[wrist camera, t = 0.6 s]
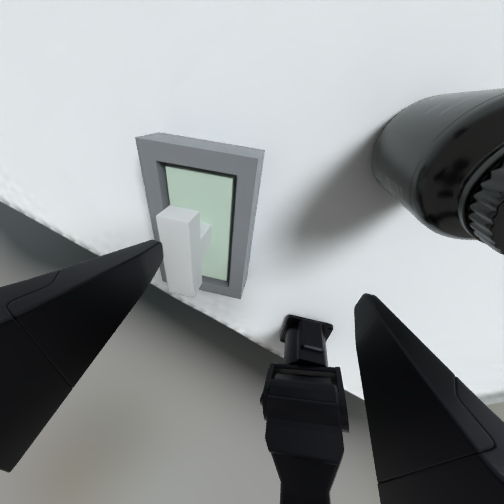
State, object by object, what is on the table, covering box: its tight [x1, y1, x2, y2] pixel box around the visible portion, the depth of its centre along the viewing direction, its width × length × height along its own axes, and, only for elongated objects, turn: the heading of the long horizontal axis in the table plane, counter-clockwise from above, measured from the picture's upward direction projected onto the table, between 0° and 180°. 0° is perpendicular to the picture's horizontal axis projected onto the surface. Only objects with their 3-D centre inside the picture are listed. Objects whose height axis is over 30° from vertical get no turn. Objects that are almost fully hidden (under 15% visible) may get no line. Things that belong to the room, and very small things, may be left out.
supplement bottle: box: [372, 88, 504, 255], centre depth 12 cm, size 7×7×12 cm
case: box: [135, 133, 265, 299], centre depth 22 cm, size 16×10×4 cm, turn 173°
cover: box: [156, 164, 236, 298], centre depth 20 cm, size 12×6×6 cm, turn 173°
